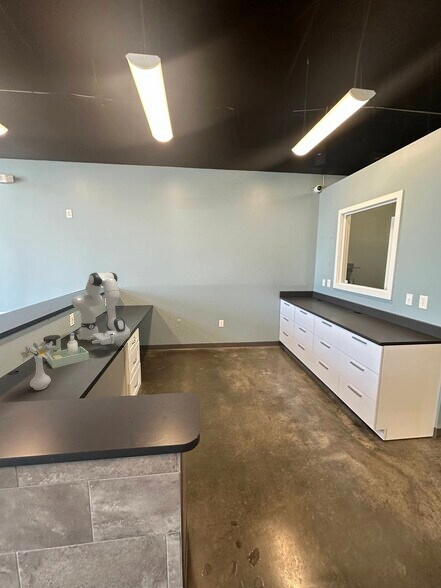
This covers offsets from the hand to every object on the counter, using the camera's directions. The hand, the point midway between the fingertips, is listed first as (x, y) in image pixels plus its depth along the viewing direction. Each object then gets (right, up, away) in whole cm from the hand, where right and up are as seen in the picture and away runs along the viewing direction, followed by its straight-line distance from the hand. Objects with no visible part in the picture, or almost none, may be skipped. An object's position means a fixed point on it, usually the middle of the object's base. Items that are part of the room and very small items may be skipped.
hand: (89, 340), depth 181 cm
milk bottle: (-8, -12, -7) cm, 16 cm away
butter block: (-14, -12, -13) cm, 23 cm away
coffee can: (-27, -11, 0) cm, 29 cm away
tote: (-10, -13, -9) cm, 18 cm away
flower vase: (-4, -18, -44) cm, 47 cm away
